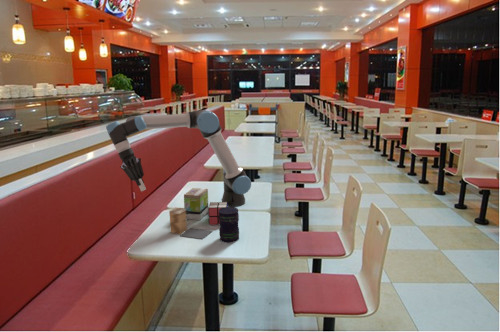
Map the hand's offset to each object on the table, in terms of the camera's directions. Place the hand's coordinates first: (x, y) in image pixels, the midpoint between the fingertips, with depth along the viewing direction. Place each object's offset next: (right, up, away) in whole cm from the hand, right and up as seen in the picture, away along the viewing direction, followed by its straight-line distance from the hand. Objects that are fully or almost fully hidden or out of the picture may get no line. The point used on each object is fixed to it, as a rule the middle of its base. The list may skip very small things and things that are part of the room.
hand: (143, 190), depth 212 cm
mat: (+29, -22, -7) cm, 37 cm away
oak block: (+19, -21, -3) cm, 29 cm away
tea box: (+26, -16, +20) cm, 37 cm away
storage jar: (+47, -23, -14) cm, 54 cm away
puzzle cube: (+40, -18, +9) cm, 45 cm away
